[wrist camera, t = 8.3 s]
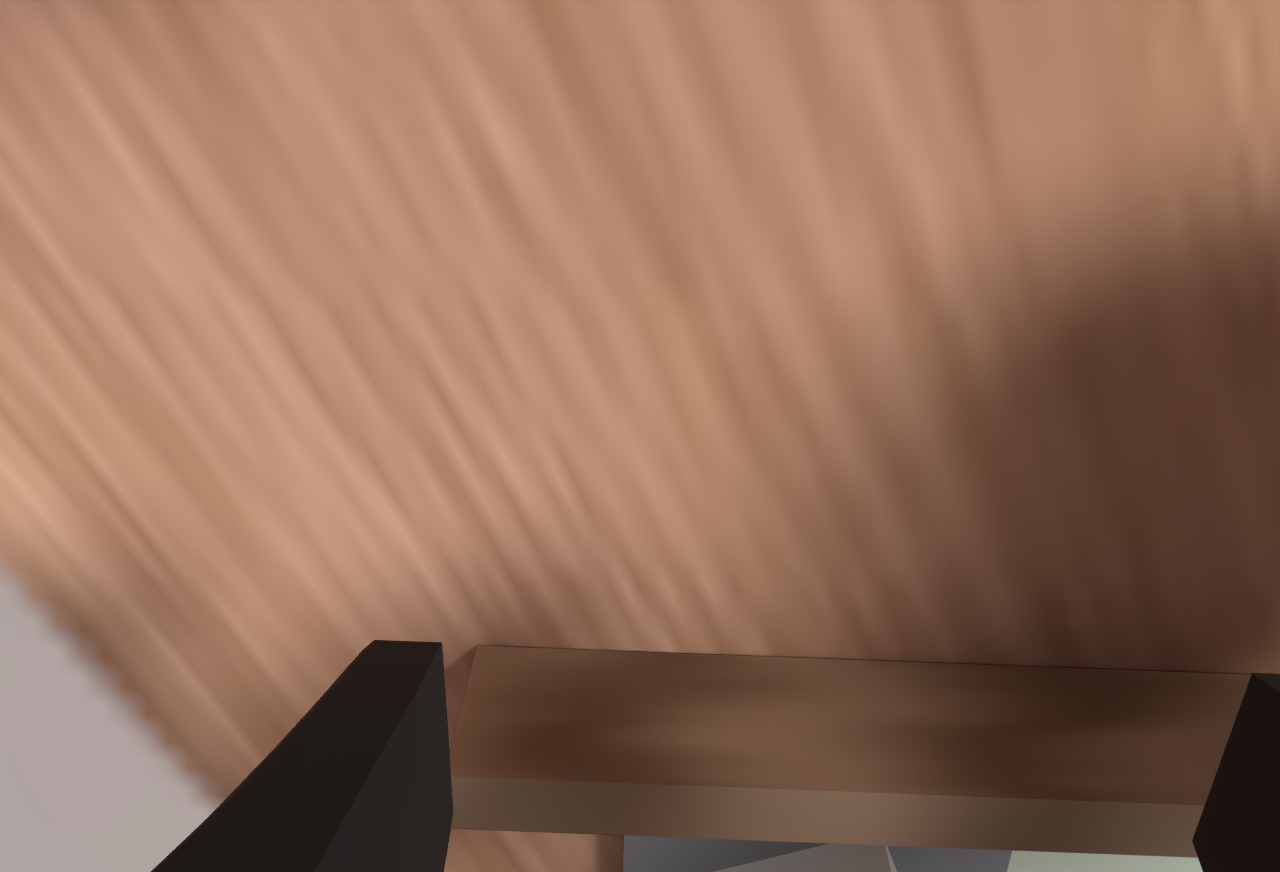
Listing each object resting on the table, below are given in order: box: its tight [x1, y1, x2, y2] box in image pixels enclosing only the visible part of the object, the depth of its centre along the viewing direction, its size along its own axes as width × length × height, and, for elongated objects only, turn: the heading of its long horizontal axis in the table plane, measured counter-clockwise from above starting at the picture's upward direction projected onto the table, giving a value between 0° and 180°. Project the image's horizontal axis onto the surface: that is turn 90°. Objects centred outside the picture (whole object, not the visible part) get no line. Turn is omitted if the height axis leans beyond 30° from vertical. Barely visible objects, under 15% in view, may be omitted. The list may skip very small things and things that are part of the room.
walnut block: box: [449, 646, 1251, 858], centre depth 20 cm, size 20×1×4 cm, turn 88°
